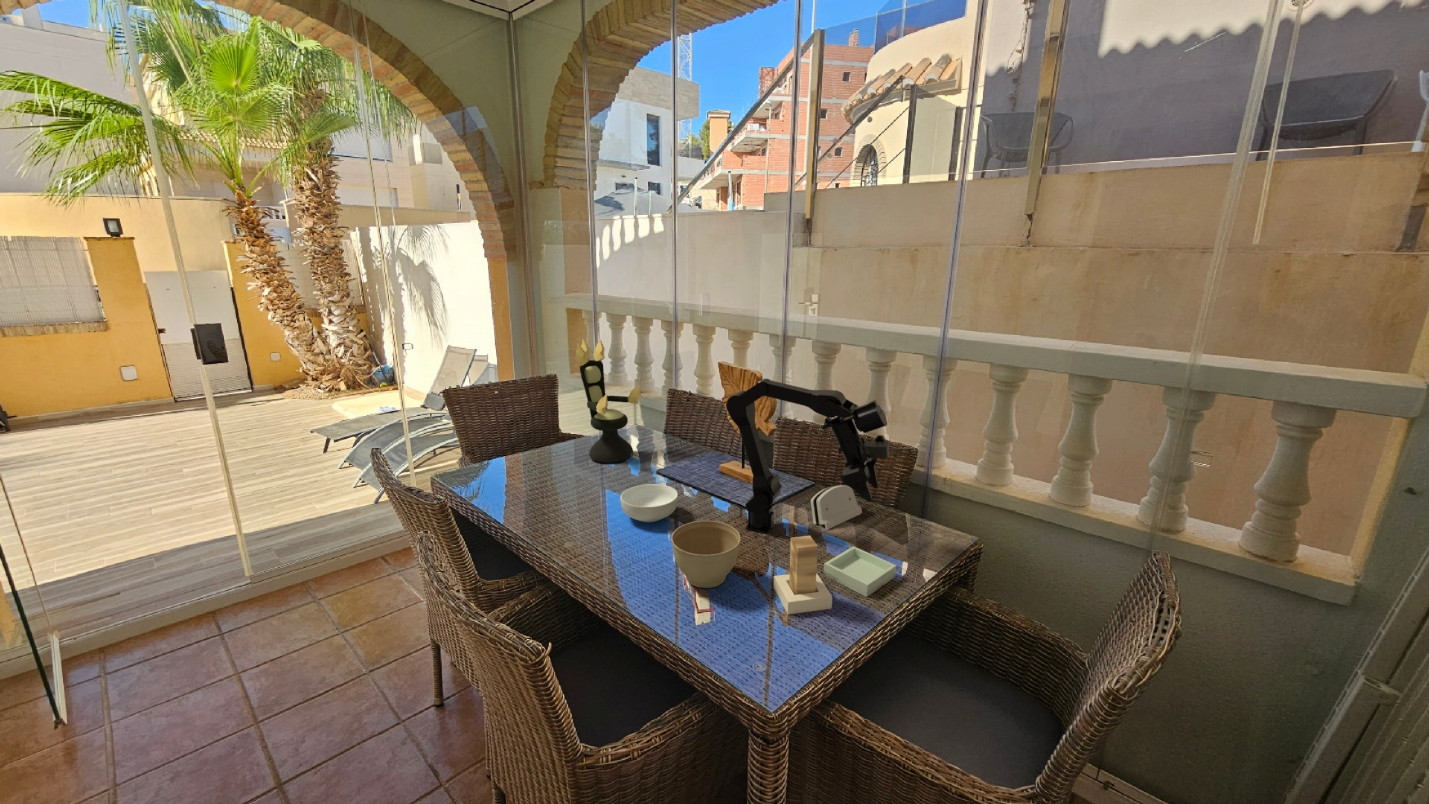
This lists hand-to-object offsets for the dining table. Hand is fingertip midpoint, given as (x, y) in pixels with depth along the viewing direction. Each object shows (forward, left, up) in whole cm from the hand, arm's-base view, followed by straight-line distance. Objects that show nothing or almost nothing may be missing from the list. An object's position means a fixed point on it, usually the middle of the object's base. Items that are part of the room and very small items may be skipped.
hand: (873, 494), depth 138 cm
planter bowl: (-33, -29, -16) cm, 47 cm away
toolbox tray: (0, -13, -16) cm, 20 cm away
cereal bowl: (-62, -7, -16) cm, 65 cm away
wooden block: (-10, -27, -16) cm, 33 cm away
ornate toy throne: (-104, +30, -16) cm, 110 cm away
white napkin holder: (-12, +15, -16) cm, 25 cm away
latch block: (-10, -27, -16) cm, 33 cm away
